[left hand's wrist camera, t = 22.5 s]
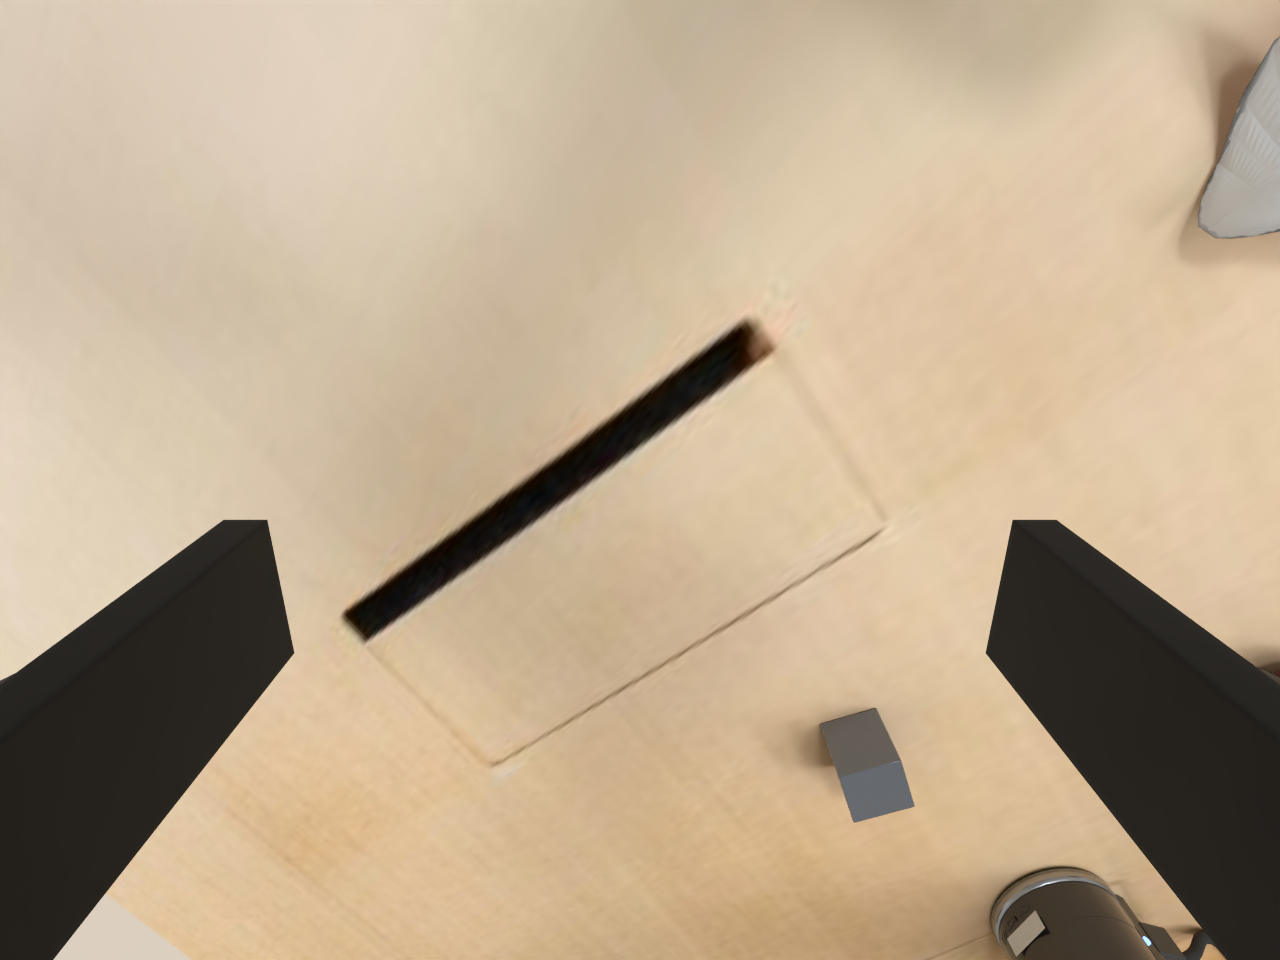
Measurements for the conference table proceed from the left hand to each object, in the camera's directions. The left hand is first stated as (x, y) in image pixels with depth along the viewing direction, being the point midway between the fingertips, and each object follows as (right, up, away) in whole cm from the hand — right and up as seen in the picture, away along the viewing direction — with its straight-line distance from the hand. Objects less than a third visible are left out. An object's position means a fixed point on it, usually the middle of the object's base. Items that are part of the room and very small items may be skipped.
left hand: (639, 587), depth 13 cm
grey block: (+15, -16, +37) cm, 43 cm away
